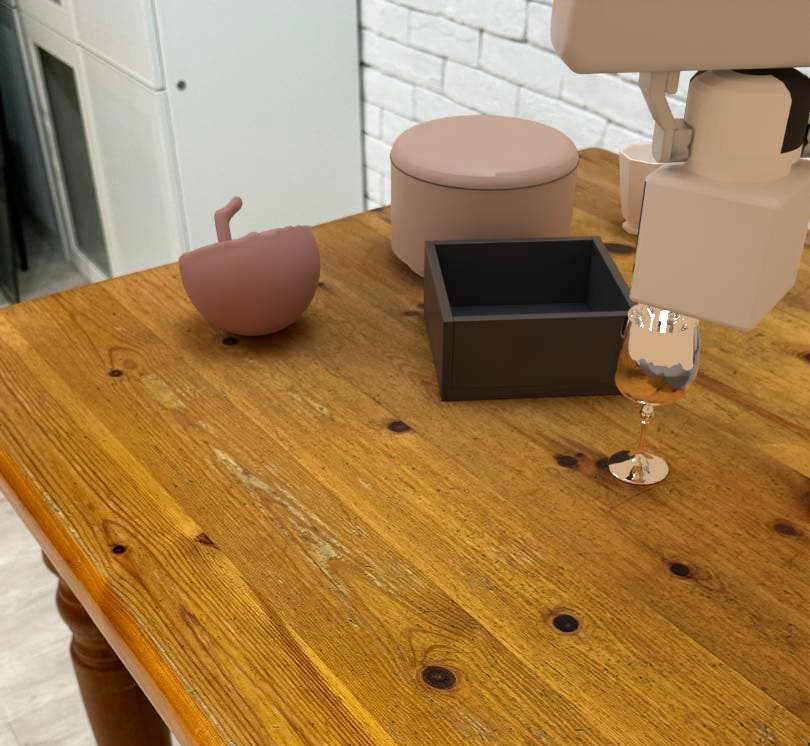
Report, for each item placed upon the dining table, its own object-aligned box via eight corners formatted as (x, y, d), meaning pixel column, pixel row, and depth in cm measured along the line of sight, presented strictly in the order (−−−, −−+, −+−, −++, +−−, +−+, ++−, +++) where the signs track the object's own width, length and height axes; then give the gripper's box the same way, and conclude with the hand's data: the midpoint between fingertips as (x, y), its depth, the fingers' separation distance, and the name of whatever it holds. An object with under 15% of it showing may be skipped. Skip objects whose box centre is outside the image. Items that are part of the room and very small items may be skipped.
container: (362, 240, 109) (359, 124, 102) (512, 213, 115) (520, 102, 108) (439, 310, 97) (442, 184, 89) (603, 275, 103) (618, 155, 95)
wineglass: (625, 497, 74) (651, 344, 66) (583, 455, 78) (602, 306, 70) (693, 478, 75) (725, 327, 68) (648, 439, 80) (674, 292, 72)
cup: (609, 214, 115) (619, 139, 110) (702, 219, 114) (716, 144, 109) (609, 239, 110) (619, 161, 105) (706, 245, 109) (721, 167, 104)
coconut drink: (285, 288, 100) (276, 168, 93) (347, 338, 92) (343, 211, 85) (167, 318, 95) (149, 194, 88) (223, 374, 87) (207, 242, 80)
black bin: (590, 308, 97) (599, 235, 93) (632, 393, 85) (644, 314, 81) (423, 313, 96) (424, 240, 92) (441, 401, 84) (443, 321, 80)
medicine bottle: (678, 258, 63) (713, 42, 55) (795, 287, 60) (850, 63, 52) (626, 302, 58) (657, 74, 51) (750, 336, 55) (802, 98, 48)
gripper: (992, -176, 48) (905, 130, 57) (556, -168, 47) (534, 143, 56) (1071, -162, 44) (963, 170, 52) (587, -154, 42) (558, 185, 51)
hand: (738, 157), depth 54 cm, fingers closed on medicine bottle, 6 cm apart
